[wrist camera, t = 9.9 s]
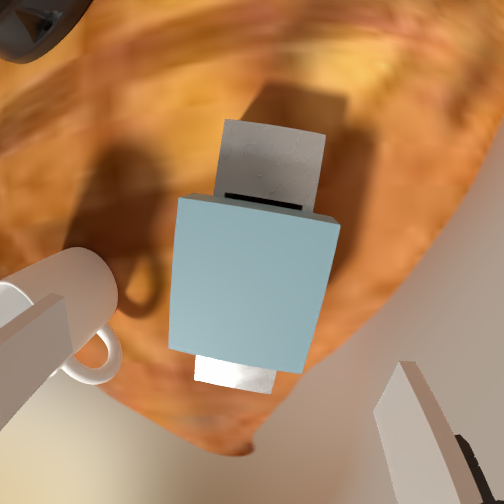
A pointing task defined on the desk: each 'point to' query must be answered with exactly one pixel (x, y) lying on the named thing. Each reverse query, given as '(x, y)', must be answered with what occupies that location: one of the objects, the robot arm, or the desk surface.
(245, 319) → the pale blue memo pad
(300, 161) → the grey block with holes
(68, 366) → the mug
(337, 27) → the desk surface
